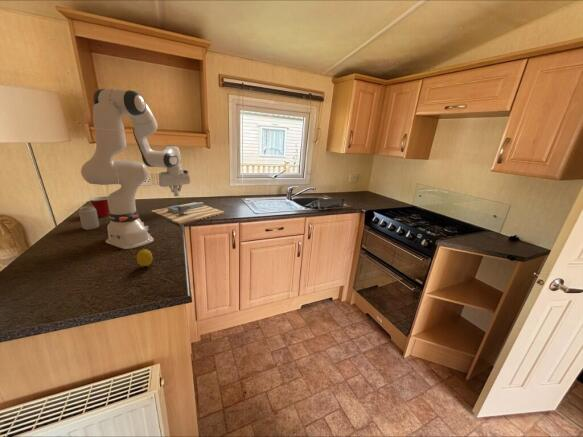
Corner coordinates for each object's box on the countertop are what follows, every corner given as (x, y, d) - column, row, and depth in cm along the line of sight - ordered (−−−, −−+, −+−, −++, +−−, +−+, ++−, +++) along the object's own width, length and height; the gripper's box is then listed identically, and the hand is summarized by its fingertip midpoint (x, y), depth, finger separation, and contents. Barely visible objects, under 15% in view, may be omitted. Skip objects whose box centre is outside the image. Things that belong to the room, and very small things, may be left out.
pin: (179, 195, 164) (178, 184, 162) (175, 196, 162) (174, 184, 159) (177, 194, 166) (176, 183, 163) (173, 195, 163) (171, 183, 161)
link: (175, 213, 161) (174, 209, 160) (167, 210, 166) (167, 207, 165) (206, 206, 180) (206, 203, 180) (199, 204, 185) (198, 201, 184)
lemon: (137, 271, 97) (134, 253, 94) (139, 264, 102) (136, 247, 99) (152, 268, 99) (150, 251, 96) (154, 262, 104) (152, 245, 101)
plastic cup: (104, 212, 159) (101, 194, 155) (118, 214, 157) (115, 196, 153) (88, 217, 149) (84, 198, 145) (102, 219, 147) (99, 200, 143)
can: (79, 228, 132) (74, 207, 128) (93, 224, 139) (89, 204, 135) (88, 231, 130) (83, 209, 126) (102, 227, 136) (98, 206, 133)
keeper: (190, 213, 163) (190, 206, 162) (181, 215, 158) (181, 208, 157) (187, 212, 166) (186, 205, 164) (178, 214, 160) (177, 207, 159)
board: (224, 213, 173) (224, 211, 173) (180, 225, 147) (179, 222, 146) (195, 204, 191) (195, 202, 191) (151, 212, 164) (151, 210, 164)
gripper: (161, 173, 149) (163, 194, 153) (190, 170, 165) (192, 190, 169) (155, 171, 152) (158, 193, 156) (185, 169, 168) (186, 188, 173)
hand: (176, 191), depth 163 cm, fingers closed on pin, 3 cm apart
